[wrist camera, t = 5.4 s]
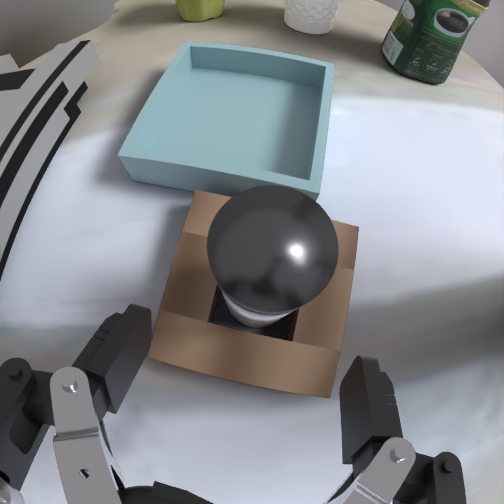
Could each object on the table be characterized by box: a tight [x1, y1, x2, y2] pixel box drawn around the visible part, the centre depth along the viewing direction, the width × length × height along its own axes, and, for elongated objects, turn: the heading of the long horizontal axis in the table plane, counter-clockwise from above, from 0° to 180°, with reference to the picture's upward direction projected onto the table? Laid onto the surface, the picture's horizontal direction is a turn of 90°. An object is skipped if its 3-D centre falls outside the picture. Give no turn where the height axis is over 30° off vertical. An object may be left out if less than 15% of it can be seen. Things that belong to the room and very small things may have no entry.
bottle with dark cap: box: [207, 185, 339, 328], centre depth 16 cm, size 5×5×12 cm
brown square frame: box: [148, 190, 359, 398], centre depth 21 cm, size 12×12×2 cm
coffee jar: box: [382, 0, 490, 84], centre depth 22 cm, size 10×8×19 cm
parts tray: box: [118, 42, 335, 201], centre depth 24 cm, size 15×15×4 cm
